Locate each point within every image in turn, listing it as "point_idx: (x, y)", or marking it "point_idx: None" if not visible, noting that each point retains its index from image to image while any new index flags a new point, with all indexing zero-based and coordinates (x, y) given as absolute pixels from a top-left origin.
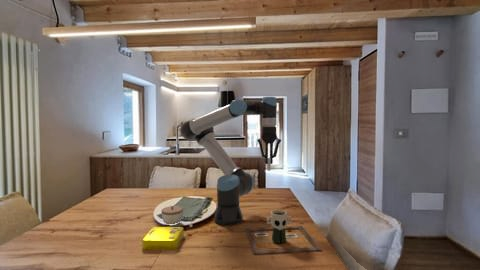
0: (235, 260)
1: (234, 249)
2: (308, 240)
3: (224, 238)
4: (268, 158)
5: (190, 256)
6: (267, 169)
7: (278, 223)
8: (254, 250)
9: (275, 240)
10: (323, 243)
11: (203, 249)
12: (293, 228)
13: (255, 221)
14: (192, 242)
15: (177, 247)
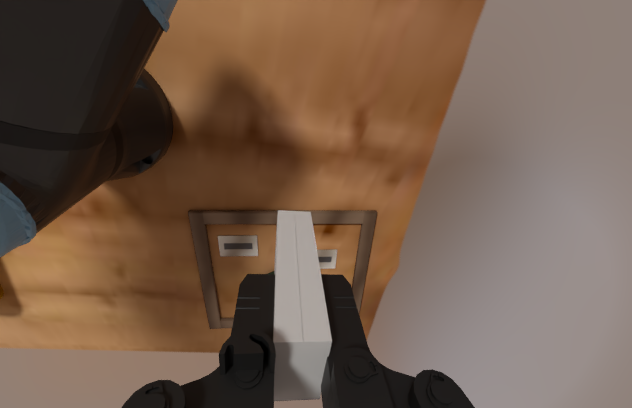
0: (171, 339)
1: (164, 306)
2: (352, 284)
3: (126, 257)
4: (283, 396)
5: (62, 325)
6: (275, 252)
7: None
8: (211, 320)
9: None
10: (378, 296)
11: (82, 302)
12: (345, 222)
13: (228, 141)
14: (32, 270)
15: (2, 293)
